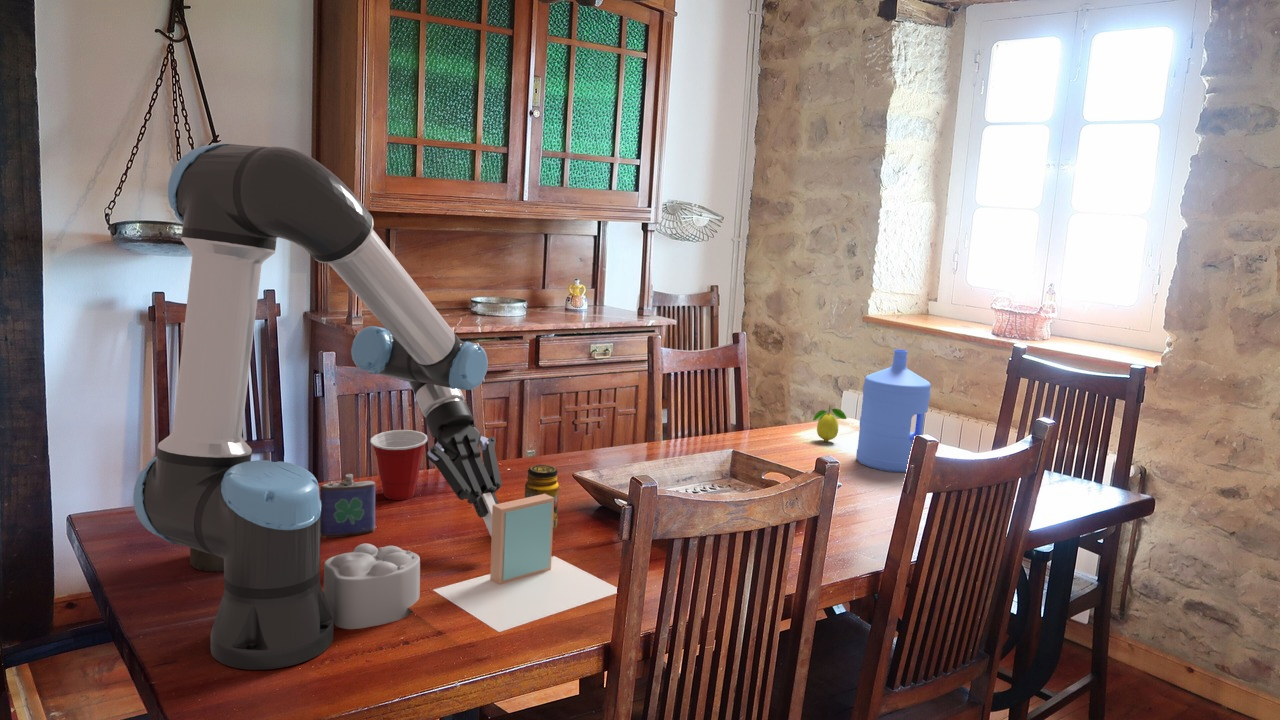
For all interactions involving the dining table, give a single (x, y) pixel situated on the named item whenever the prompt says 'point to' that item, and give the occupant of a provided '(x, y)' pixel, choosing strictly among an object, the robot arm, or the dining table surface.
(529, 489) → the condiment
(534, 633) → the dining table surface
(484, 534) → the dining table surface
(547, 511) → the tile
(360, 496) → the flask
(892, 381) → the water jug
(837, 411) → the lemon
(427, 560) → the dining table surface
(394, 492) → the plastic cup
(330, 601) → the lumpy-topped squat cylinder
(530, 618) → the board
